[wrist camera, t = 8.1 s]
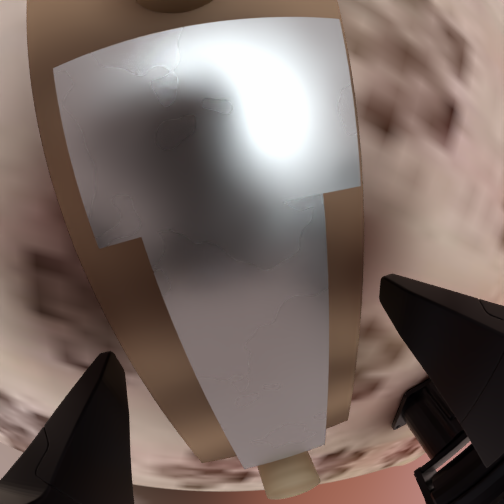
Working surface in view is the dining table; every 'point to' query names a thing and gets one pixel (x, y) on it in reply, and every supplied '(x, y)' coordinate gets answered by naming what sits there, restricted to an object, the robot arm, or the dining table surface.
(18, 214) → the dining table surface
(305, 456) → the peg rack
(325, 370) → the grey stepped block
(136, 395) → the dining table surface
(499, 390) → the robot arm
